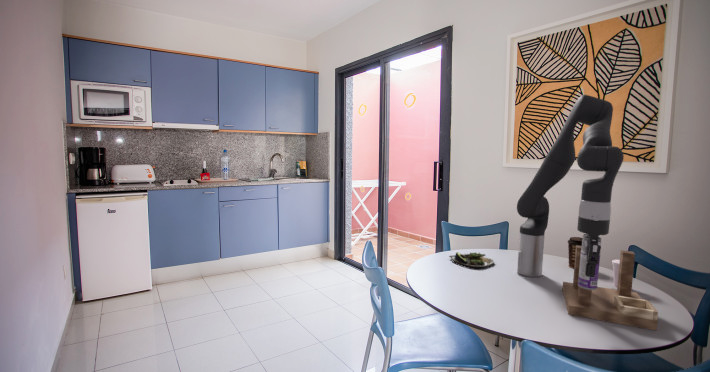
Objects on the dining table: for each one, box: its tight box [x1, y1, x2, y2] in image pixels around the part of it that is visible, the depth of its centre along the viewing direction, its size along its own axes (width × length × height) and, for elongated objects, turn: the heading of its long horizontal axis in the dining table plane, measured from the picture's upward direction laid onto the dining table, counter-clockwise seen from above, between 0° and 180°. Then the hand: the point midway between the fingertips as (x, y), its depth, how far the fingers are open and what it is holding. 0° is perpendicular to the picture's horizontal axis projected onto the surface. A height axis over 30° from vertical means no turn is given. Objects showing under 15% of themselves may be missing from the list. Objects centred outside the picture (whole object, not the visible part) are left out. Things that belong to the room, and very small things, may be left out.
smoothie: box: [611, 259, 620, 288], centre depth 133 cm, size 6×6×14 cm
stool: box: [561, 245, 659, 332], centre depth 115 cm, size 22×22×18 cm
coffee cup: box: [567, 236, 583, 269], centre depth 154 cm, size 9×8×13 cm
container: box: [578, 234, 602, 290], centre depth 102 cm, size 5×5×15 cm
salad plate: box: [448, 251, 495, 270], centre depth 162 cm, size 19×18×5 cm
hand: (588, 273), depth 102 cm, fingers closed on container, 4 cm apart
